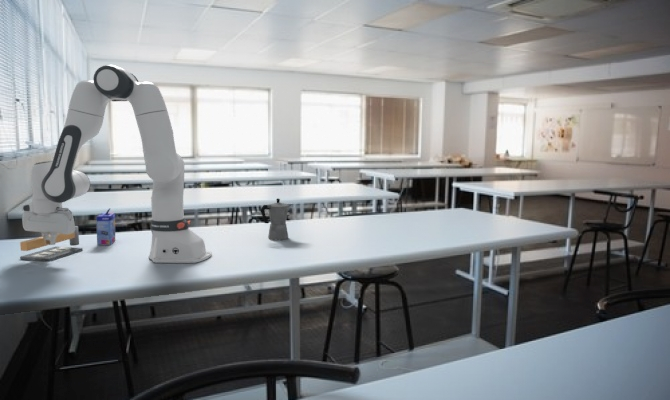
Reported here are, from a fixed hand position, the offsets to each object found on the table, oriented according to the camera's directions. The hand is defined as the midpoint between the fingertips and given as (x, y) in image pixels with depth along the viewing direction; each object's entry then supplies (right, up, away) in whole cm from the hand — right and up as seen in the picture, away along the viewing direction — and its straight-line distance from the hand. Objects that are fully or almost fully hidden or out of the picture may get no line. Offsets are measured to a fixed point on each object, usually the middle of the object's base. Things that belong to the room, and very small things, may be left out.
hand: (50, 244), depth 160 cm
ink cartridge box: (+7, -2, +26) cm, 27 cm away
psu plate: (-3, -5, +6) cm, 8 cm away
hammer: (-3, -3, +6) cm, 7 cm away
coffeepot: (+76, -1, +39) cm, 86 cm away
